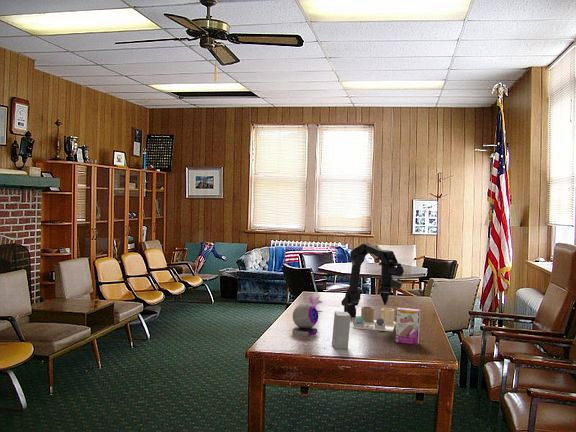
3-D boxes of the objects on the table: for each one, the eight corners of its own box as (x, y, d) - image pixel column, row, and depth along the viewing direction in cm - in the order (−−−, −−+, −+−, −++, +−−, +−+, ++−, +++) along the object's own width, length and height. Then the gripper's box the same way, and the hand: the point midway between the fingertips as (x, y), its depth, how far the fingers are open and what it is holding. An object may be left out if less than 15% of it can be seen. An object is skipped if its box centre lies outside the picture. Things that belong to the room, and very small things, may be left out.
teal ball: (355, 324, 314) (355, 316, 314) (356, 322, 318) (356, 315, 318) (362, 324, 313) (362, 317, 313) (363, 323, 317) (363, 315, 317)
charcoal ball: (375, 325, 311) (376, 318, 311) (376, 324, 315) (376, 316, 315) (383, 326, 310) (383, 318, 310) (384, 324, 314) (384, 317, 314)
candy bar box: (394, 342, 284) (395, 309, 284) (396, 340, 289) (397, 307, 288) (418, 345, 281) (419, 311, 280) (419, 343, 285) (420, 309, 285)
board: (352, 328, 313) (353, 313, 313) (358, 319, 334) (359, 305, 334) (392, 331, 308) (393, 316, 308) (396, 323, 329) (396, 308, 329)
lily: (325, 312, 359) (322, 297, 363) (322, 307, 348) (318, 292, 352) (306, 317, 360) (303, 302, 364) (302, 313, 350) (299, 297, 354)
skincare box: (331, 344, 278) (332, 310, 277) (346, 344, 278) (347, 311, 278) (334, 349, 269) (335, 314, 269) (349, 349, 270) (351, 314, 269)
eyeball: (309, 337, 291) (310, 306, 290) (287, 333, 298) (288, 303, 297) (322, 332, 302) (322, 303, 301) (300, 328, 309) (301, 300, 308)
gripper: (401, 277, 306) (400, 307, 306) (402, 273, 324) (401, 301, 324) (379, 276, 308) (378, 305, 309) (382, 272, 326) (381, 300, 327)
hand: (385, 303), depth 317 cm, fingers open, 9 cm apart
